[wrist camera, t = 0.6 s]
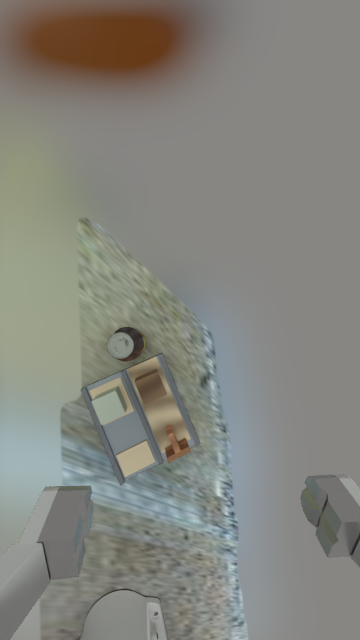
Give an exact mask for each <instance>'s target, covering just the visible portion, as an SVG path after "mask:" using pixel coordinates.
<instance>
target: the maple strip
mask: <svg viewBox="0 0 360 640" xmlns="http://www.w3.org/2000/svg"><path fill="white" fill-rule="evenodd" d="M155 369H157V371H158V373H159V376H160V378H161V380H162V383H163V385H164V387H165V390H166V393H167V395H165V396H163V397H161V398H159V399H156V400H154V401H152V402H150V403H148V404H146V405H144V403H143V401H142V399H141V396H140V394H139V391H138V389H137V387H136V384H135V378H137V377H139V376H141V375H143V374H146V373H148V372H150V371H152V370H155ZM127 371H128V373H129V375H130V378H131V380H132V383H133V385H134V387H135V390H136V392H137V395H138V397H139V399H140V402H141V404H142V407H143V409H144V411H145V414H146V416H147V419H148V421H149V423H150V426H151V428H152V431H153V433H154V435H155V438H156V440H157V443H158V445H159V447H160V450H161V452H162V453H164V452H166V457H167V460H168V462H171V461H173V460H175V459H177V458H179V457H181V456H182V455H184V454H186V453H188V452H190V451H191V450H190V447H189V445H188V442H187V441H188V440H190V439H191V438H190V435H189V433H188V431H187V428H186V426H185V423H184V421H183V419H182V416H181V414H180V412H179V409H178V407H177V404H176V402H175V400H174V397H173V395H172V392H171V390H170V388H169V385H168V383H167V381H166V378H165V376H164V373H163V371H162V369H161V366H160V364H159V362H158V359H157V357H153V358H151V359H149V360H146V361H144V362H142V363H140V364H137V365H135V366H133V367H130V368H128V369H127Z"/></svg>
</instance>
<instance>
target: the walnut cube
mask: <svg viewBox="0 0 360 640" xmlns="http://www.w3.org/2000/svg"><path fill="white" fill-rule="evenodd" d="M135 384H136V387H137V389H138V391H139V394H140V396H141V399H142V401H143V403H144V405H146V404H148V403H150V402H152V401H154V400H156V399H159V398H161V397H163V396H165V395H167V393H166V390H165V387H164V385H163V383H162V380H161V378H160V376H159V373H158V371H157V369H155V370H152V371H150V372H148V373H146V374H143V375H141V376H139V377H137V378H135Z"/></svg>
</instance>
